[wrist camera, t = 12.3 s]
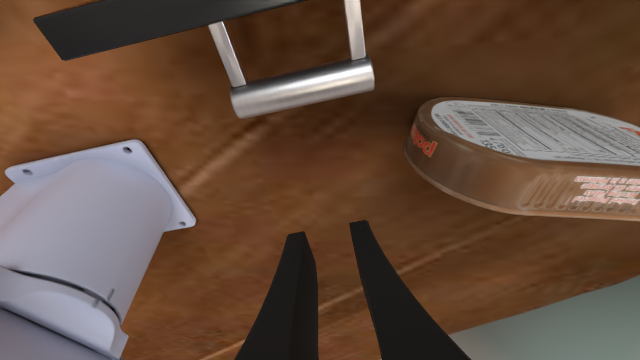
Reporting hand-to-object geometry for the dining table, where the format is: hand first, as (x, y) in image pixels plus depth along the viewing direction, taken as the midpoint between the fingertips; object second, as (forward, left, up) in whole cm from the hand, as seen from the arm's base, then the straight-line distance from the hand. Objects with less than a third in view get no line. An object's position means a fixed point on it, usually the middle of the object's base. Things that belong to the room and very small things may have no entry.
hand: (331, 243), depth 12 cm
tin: (+12, -2, -10) cm, 15 cm away
